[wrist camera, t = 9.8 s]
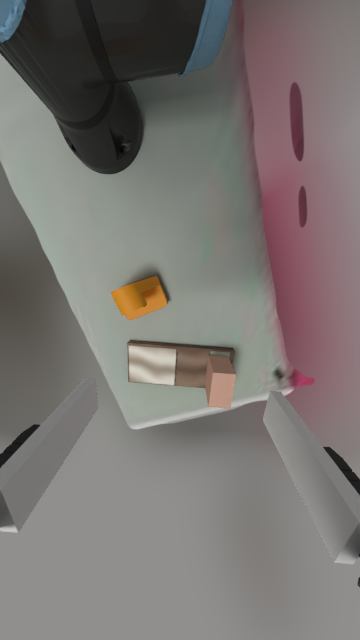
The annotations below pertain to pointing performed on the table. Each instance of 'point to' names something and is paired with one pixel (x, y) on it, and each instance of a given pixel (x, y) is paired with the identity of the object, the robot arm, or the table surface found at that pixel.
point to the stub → (219, 381)
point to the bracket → (140, 297)
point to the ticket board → (171, 363)
